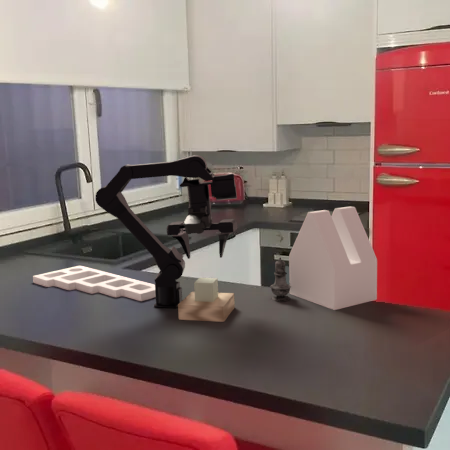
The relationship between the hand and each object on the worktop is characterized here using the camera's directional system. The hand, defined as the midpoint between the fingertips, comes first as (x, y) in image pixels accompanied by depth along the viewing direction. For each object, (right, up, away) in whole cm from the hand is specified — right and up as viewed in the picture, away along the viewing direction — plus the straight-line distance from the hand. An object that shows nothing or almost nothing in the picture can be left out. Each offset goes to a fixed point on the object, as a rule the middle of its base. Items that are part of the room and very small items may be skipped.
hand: (205, 257), depth 172 cm
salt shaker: (+21, -12, +5) cm, 25 cm away
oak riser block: (+1, -14, -6) cm, 16 cm away
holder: (-35, -11, +22) cm, 43 cm away
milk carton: (+36, -12, +5) cm, 38 cm away
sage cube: (+1, -10, -7) cm, 13 cm away
